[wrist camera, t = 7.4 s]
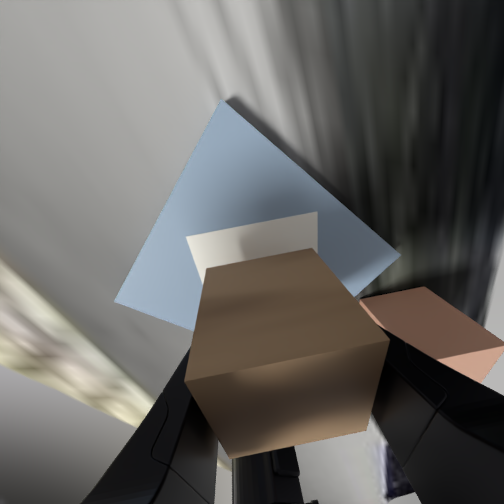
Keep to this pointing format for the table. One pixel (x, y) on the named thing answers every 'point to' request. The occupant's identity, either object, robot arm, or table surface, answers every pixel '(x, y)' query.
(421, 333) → the terracotta block
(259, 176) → the board
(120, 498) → the robot arm
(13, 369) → the table surface
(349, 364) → the walnut block
